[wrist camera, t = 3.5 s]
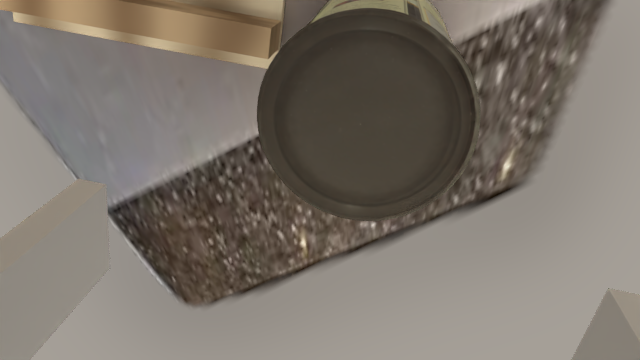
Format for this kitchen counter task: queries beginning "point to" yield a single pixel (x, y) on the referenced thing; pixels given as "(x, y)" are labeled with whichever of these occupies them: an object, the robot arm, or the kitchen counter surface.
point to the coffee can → (369, 109)
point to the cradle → (168, 24)
